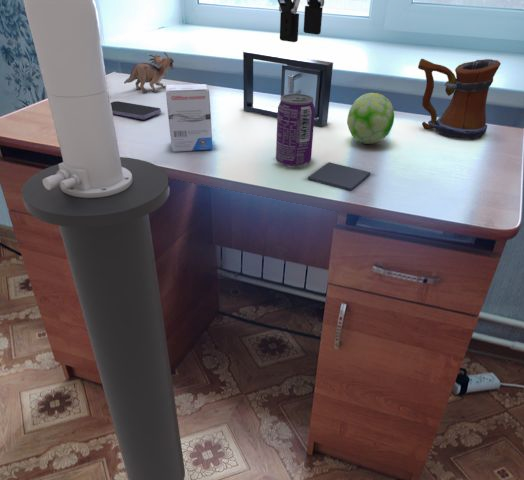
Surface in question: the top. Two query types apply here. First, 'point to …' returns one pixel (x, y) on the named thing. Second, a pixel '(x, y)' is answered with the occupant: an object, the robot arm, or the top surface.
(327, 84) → the window frame
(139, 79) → the dinosaur figurine
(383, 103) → the decorative ball
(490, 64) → the mug
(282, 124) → the beverage can
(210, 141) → the ink box
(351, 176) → the coaster
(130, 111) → the smartphone
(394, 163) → the top surface
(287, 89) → the sash
